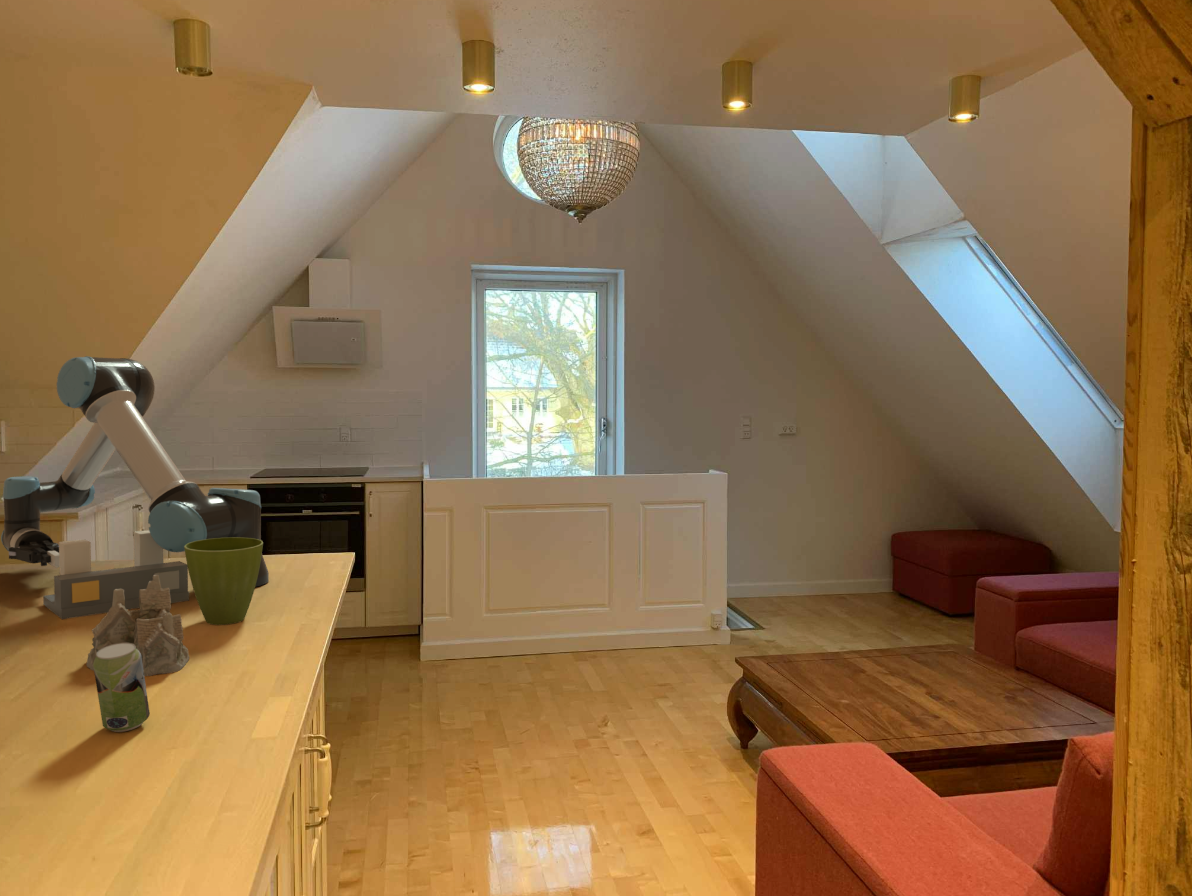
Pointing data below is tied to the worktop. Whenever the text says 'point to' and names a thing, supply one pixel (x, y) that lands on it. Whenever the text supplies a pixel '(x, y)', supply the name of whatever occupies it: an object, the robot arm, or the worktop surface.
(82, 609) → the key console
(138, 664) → the beverage can
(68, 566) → the key
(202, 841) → the worktop surface
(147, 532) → the key
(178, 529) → the robot arm
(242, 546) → the flower pot
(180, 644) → the ceramic cottage
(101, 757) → the worktop surface
